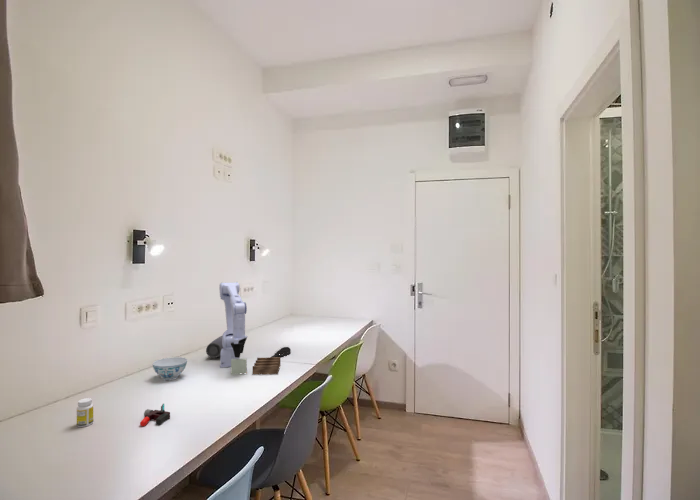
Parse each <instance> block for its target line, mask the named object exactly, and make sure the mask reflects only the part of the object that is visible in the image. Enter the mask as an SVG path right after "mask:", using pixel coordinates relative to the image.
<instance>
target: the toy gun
mask: <svg viewBox="0 0 700 500" xmlns="http://www.w3.org/2000/svg"><path fill="white" fill-rule="evenodd" d="M143 415H144V417H143V418H142V419H141V420H140V423H139V425H140V427H145V426H147V424H148V423H149V422H151V421H155V425H157V426H161V425H163V423H164V422H166V421H168V420H170V419H171V412H170V411H165V403H162V404H161V406H160V410H159V409H149V408H147V409H145V411H144V412H143Z"/></svg>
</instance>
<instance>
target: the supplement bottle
mask: <svg viewBox="0 0 700 500" xmlns="http://www.w3.org/2000/svg"><path fill="white" fill-rule="evenodd" d="M92 424H94V404H93V399H92V398H91V397H85V398H81V399H80V400H78V401H77V407H76V426H77V427H78V428H86V427H89V426H91V425H92Z"/></svg>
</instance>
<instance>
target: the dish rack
mask: <svg viewBox="0 0 700 500" xmlns="http://www.w3.org/2000/svg"><path fill="white" fill-rule="evenodd" d="M279 367H280V368H281V357H271V356H270V357H257V358H256V360H255V362H254V363H253V365H252V375H253V374H262V375H278V374H279V371H280V368H279Z"/></svg>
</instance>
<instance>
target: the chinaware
mask: <svg viewBox="0 0 700 500" xmlns="http://www.w3.org/2000/svg"><path fill="white" fill-rule="evenodd" d="M187 363H188V358H186V357H182V356H172V357H164V358H160V359H157V360H154V361H153V362H152V363H151V364H152V368H153V370H154V372H155V373H156V375H158V376H159V377H160V378H161V379H162V380H164V381H171V380H176V379H178V378H179V375H181V374H182V373H183V372H184V370H185V369H186V367H187Z"/></svg>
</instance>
